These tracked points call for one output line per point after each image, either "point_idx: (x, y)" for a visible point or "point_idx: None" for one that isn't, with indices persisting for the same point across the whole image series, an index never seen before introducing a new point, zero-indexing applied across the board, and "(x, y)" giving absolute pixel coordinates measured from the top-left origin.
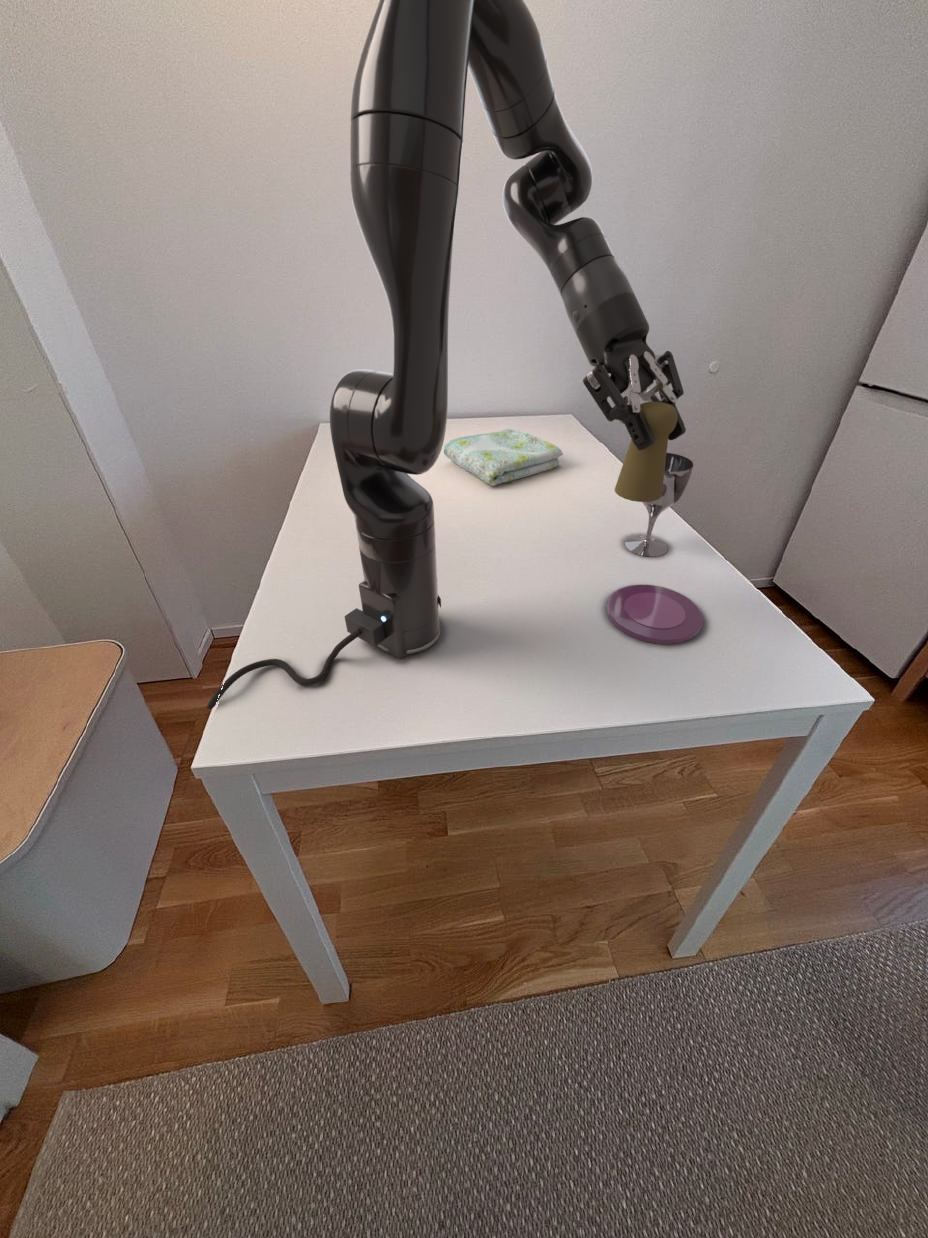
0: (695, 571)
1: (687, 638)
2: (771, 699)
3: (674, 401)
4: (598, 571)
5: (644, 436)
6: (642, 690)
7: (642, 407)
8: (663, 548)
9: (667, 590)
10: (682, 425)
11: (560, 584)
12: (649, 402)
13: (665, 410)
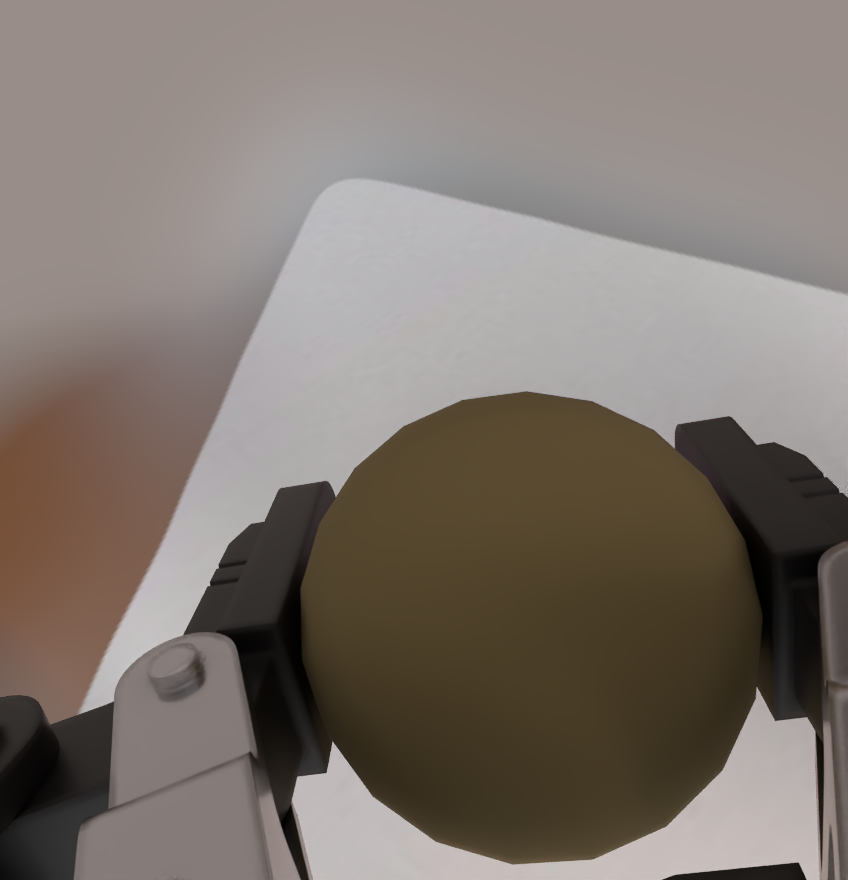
0: None
1: None
2: (488, 219)
3: (201, 635)
4: (495, 861)
5: (771, 458)
6: (742, 342)
7: (708, 645)
8: None
9: None
10: (294, 499)
11: (687, 870)
12: (543, 702)
13: (544, 432)
